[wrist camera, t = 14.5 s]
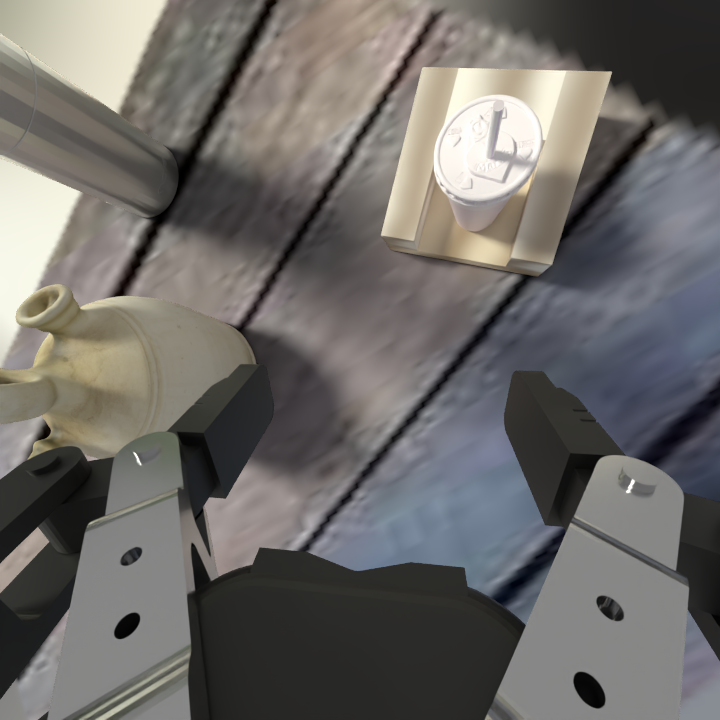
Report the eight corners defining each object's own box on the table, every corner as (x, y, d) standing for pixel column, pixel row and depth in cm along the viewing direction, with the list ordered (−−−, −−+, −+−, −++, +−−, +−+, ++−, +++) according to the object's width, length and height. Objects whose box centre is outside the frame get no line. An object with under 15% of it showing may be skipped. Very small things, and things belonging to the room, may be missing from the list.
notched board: (390, 249, 33) (380, 235, 29) (427, 105, 31) (422, 67, 27) (537, 276, 29) (552, 264, 25) (587, 114, 28) (611, 71, 23)
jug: (188, 288, 40) (-202, 203, 16) (289, 341, 37) (-25, 333, 13) (150, 395, 43) (-238, 457, 19) (241, 455, 39) (-98, 628, 15)
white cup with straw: (455, 258, 30) (455, 188, 16) (429, 196, 30) (408, 77, 17) (526, 225, 28) (593, 115, 15) (498, 159, 28) (536, -7, 15)
